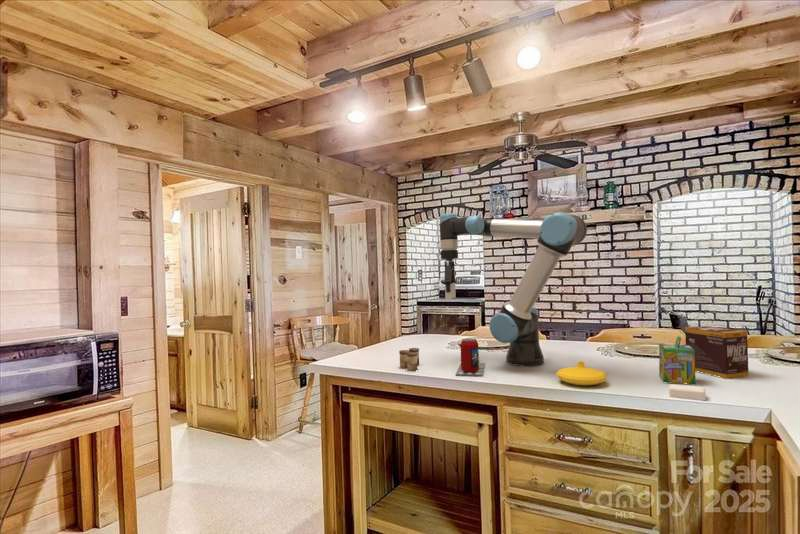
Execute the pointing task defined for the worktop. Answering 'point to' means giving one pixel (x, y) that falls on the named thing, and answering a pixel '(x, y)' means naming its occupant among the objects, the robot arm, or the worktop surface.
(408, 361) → the jar
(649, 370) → the worktop surface
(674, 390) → the soap
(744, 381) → the worktop surface
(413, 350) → the jar
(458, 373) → the pad three
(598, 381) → the yellow lidded dish
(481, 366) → the pad two
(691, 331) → the supplement box
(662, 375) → the chalk box
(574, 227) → the robot arm
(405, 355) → the jar
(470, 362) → the beverage can
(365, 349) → the worktop surface
